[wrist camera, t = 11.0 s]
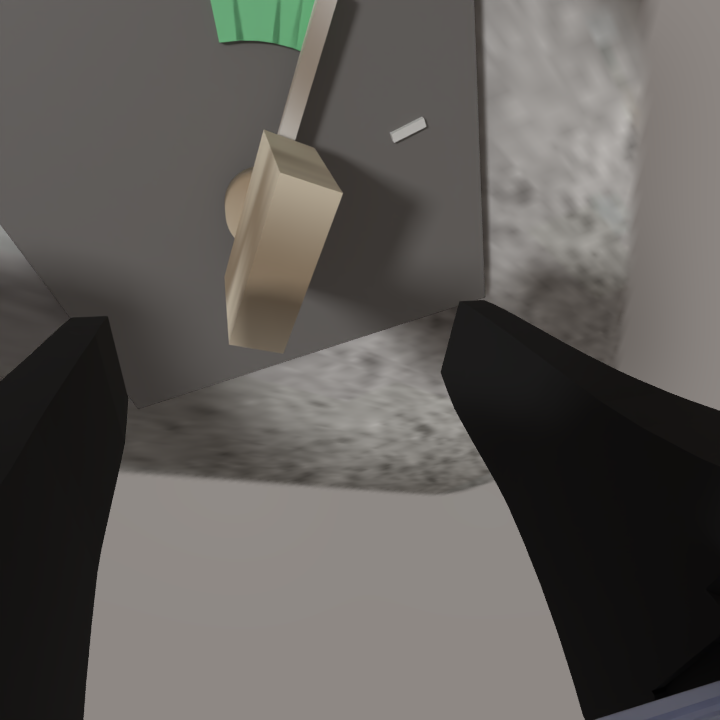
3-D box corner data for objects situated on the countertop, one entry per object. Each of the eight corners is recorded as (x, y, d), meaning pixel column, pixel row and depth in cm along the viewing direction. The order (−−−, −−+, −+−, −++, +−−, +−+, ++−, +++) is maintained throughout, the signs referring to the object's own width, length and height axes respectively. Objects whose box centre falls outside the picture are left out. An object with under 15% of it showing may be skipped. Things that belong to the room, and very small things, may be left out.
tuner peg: (279, 276, 18) (299, 356, 15) (209, 260, 17) (210, 341, 14) (370, 4, 14) (433, 16, 10) (282, -43, 13) (316, -48, 9)
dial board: (140, 393, 22) (137, 412, 21) (-128, 21, 12) (-153, 25, 12) (475, 286, 23) (486, 299, 22) (454, -133, 13) (472, -141, 13)
